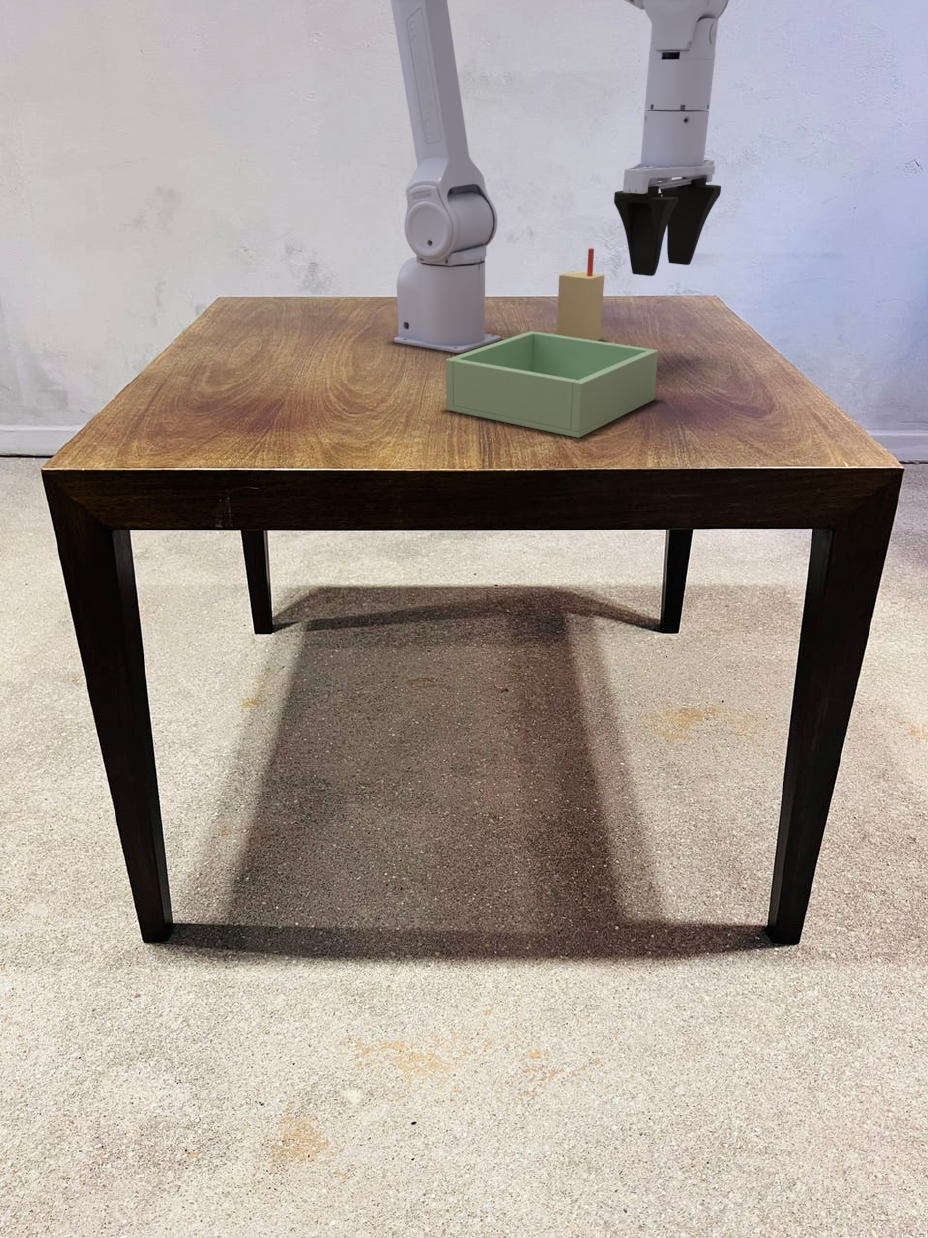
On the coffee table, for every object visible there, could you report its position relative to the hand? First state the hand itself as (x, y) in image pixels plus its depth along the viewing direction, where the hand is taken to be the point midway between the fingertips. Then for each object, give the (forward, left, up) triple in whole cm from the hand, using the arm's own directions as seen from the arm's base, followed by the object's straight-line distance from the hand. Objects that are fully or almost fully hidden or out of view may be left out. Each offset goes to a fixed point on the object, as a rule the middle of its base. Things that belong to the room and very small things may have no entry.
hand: (661, 268), depth 95 cm
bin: (-2, -17, -10) cm, 19 cm away
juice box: (-13, +7, -10) cm, 17 cm away
